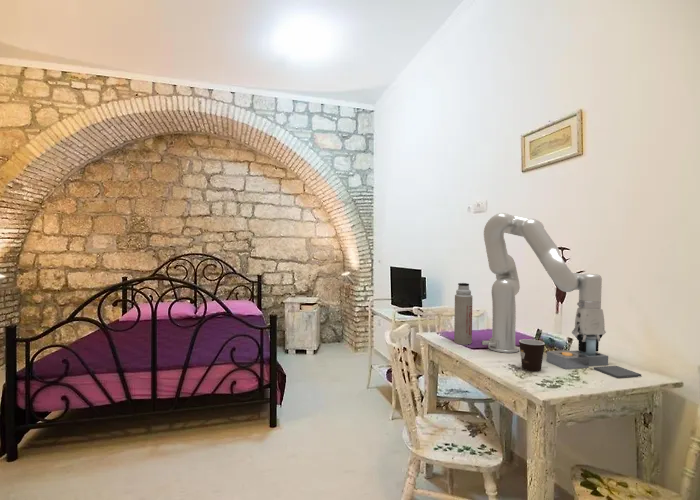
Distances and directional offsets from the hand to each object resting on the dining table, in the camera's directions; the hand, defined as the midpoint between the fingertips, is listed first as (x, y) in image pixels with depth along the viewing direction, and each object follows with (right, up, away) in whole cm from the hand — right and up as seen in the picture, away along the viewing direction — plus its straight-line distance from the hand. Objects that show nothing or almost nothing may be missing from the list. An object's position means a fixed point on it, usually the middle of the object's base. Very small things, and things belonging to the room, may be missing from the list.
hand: (588, 350), depth 153 cm
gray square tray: (0, -5, 0) cm, 5 cm away
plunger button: (-10, -4, -3) cm, 11 cm away
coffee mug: (-26, -5, -8) cm, 28 cm away
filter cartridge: (0, -4, 0) cm, 4 cm away
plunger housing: (-10, -5, -3) cm, 12 cm away
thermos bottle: (-41, -4, +29) cm, 50 cm away
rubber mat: (+2, -5, -13) cm, 14 cm away
